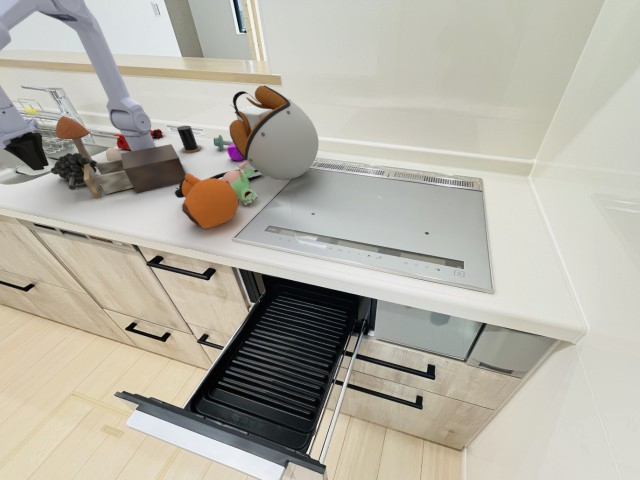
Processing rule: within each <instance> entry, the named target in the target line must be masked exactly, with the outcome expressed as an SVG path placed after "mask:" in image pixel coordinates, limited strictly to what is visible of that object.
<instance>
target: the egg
mask: <svg viewBox="0 0 640 480" xmlns="http://www.w3.org/2000/svg"><path fill="white" fill-rule="evenodd" d="M121 153H122V152H121V151H120V150H119V149H117V148H116V147H111V146H110V147H108V148H107V149H106V152H105V157H106V162H108V161H114V160H119V159H122V158H121Z"/></svg>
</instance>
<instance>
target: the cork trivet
mask: <svg viewBox="0 0 640 480" xmlns="http://www.w3.org/2000/svg"><path fill="white" fill-rule="evenodd" d="M197 146H198V148H197V149H194V150H185V148H184V147H182V149H181V150H182V152H184V153H185V154H192V153H197V152H199V151H200V150H201V146H200V145H198V144H197Z"/></svg>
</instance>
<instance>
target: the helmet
mask: <svg viewBox="0 0 640 480" xmlns="http://www.w3.org/2000/svg"><path fill="white" fill-rule="evenodd" d="M245 94H246V95H249V96H250V97H251V98H252V99H251V98H249V97H248V96H246V97H245V98H246V100H247V101H248V102H249V103H250V104H251V105H254V106H256V107H259V108H262V109H272V110H273V111H271V112H269V113H268V114H267V115H265V116H264V117H263V118H262V119H261V120H259V122H258V123H257V124H256V125H255V126H254V128H253V129H252V130H251V127H250V124H249V121H248V119H247V117H246V115H245V114H244V113H242V112H241V111H239V110H240V109H239V108H238V106H237V100H238V99H239V98H240V97H241V96H243V95H245ZM254 97H255V98H254ZM230 106H231V107H232V108H233V109H234V110H235V111H234V114H235V115H236V114H237V115H238V116H239V117H241V118H242V120H243V121H241V120H237V119H234V120H233V121H232V122H231V123H230V124H229V128H228V131H229V136H230V138H231V141H233V142H234V144H235V146H236V148H237V150H238V151H239V153H240V154H241V155H242V157H243V159H244V160H245V161H246V160H247V161H248V162H249V165H251V166H252V167H253V168H254V170H258V171H259V173H260V174H261V175H264V176H266V177H268V178H269V179H273V180H276V181H290V180H294V179H296V178H299V177H300V176H302V175H304V174H305V173H306V172H307V171H308V170H309V169H310V168H311V167H312V165H313V163H314V162H315V160H316V158H317V155H318V151H319V143H320V142H319V136H318V132H317V129H316V127H315V124H314V123H313V122H312V120H311V118H310V117H309V116H308V114H307V113H306V112H305V111H304V110H303V109H302V108H301V107H300V106H298V105H297V104H296V103H295V102H293V101H292V100H291V99H290V98H288V97H286V96H285V95H283V94H281V93H280V92H278V91H276V90H275V89H273V88H271V87H269V86H267V85H259V86H258V87H257V88H256V89H255V91H254V96H252V94H250V93H248V92H247V91H244V90H242V91H238V92H236V93H235V94H234V96H233V98H232V104H230Z"/></svg>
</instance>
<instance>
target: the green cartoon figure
mask: <svg viewBox="0 0 640 480" xmlns="http://www.w3.org/2000/svg"><path fill="white" fill-rule="evenodd" d="M247 165H250V163H249V162H248V161H247V160H245V161H243V162H242V163H239V165H237V167H238V169H239V171H237V170H238V169H233V170H229V172H228V171H226V172H227V173H226V174H225V175H224V176H223V177H221V178H219V180H221V179H222V181H224V182H226V183H227V184H229V185H230V186H231V187H232V188H233V189H234V191H235V193H236V195H237V197H238V199H239V200H241V201H242V202H243V205H244V206H250V205H251V204H252V203H253V201H254V202H255V201H257V199H258V194H257V193H256V192H255V191H254V189H252V188H251V183H250V182H249V180H248V178H249V177H252V176H254V174H255V173H254V172H255V171H254V170H255V169H251V168H248V167H246V166H247ZM244 172H245V173H244Z"/></svg>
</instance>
